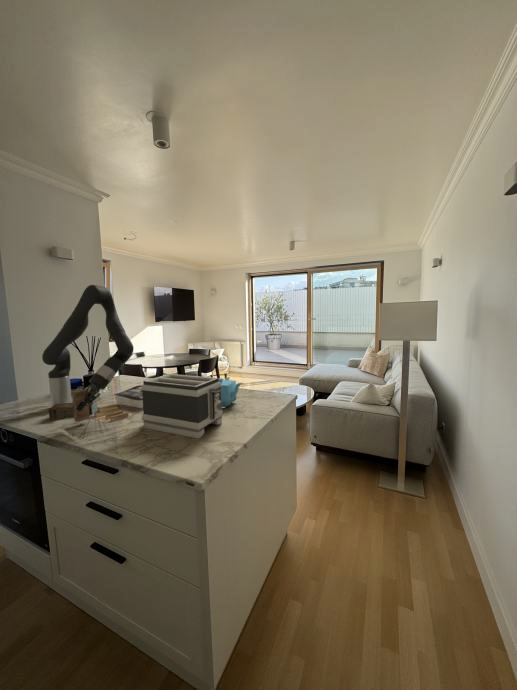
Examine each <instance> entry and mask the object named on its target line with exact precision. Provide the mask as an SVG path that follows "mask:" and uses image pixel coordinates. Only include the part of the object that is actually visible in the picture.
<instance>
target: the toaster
mask: <svg viewBox="0 0 517 690" xmlns="http://www.w3.org/2000/svg"><path fill="white" fill-rule="evenodd" d="M219 378H220V377H209V376H198V375H186V374H177V373H176V374H175V373H167V374H165V375H161V376H157V377H154V378H153V377H152V378H149V379H146V380H143V381H142V382H143V383H142V384H141V385H142V386H141V390H142V398H143V408H142V410H143V411H142V412H143V413H142V415H141V420H142V421H143V428H144V429H147V430H153V431H157V432H163V433H167V434H173V435H178V436H183V437H187V438H193V439H197V440H198V439H201V438H202V437H203V436H204V433H205V427H207V426H208V425H215V424H216V425H215V426H220V425H221V424H222V423H223V415H224V412H223V408H222V406H223V405H222V403H221V382H219Z"/></svg>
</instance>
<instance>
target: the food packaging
mask: <svg viewBox="0 0 517 690" xmlns="http://www.w3.org/2000/svg"><path fill="white" fill-rule="evenodd" d="M142 385H143V384H141V385H136V386H132V387H130V388H128V389H127V390H123V391H121V392H118V393H114V394H112V396H113V395H114V398H115V401H116V404H117V406H119V405H123V406H127V407H134V408H138V409H143V398H142V390H141V386H142Z"/></svg>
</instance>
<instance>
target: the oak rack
mask: <svg viewBox="0 0 517 690" xmlns="http://www.w3.org/2000/svg"><path fill="white" fill-rule="evenodd" d="M134 416H135V415H134V414H133V413H132V414H131V413H129V412H127V411H124V410H123V409H122V410H121V409H119V407H118V404H117V402H112V403H108V404H105V405H101V406H100V405H99V406H97V411H95V412H94V413H93V415H92V416H91V415H90V417H91V418H93V419H94V420H98V421H100V422H101V423H104V424H106V425H108V424H111V423H114V422H117V421H121V420H124V419H128V418H131V417H134Z"/></svg>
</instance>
